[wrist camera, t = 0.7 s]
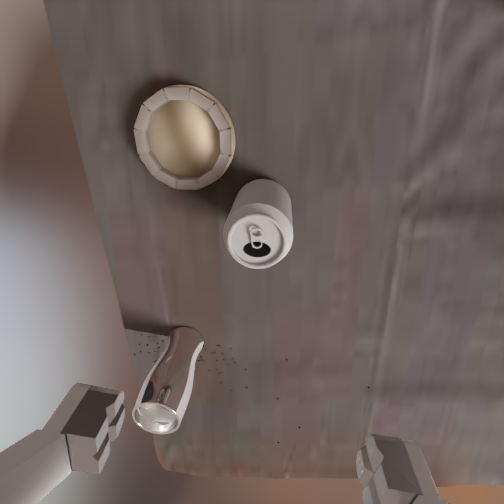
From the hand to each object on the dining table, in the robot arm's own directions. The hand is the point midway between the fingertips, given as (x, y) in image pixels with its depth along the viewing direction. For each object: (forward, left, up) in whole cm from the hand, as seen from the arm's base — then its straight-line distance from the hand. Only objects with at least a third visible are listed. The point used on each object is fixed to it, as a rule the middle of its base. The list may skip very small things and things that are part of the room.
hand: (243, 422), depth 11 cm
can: (+3, +3, -34) cm, 35 cm away
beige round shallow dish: (+7, -9, -34) cm, 36 cm away
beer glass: (+27, +18, -34) cm, 47 cm away
